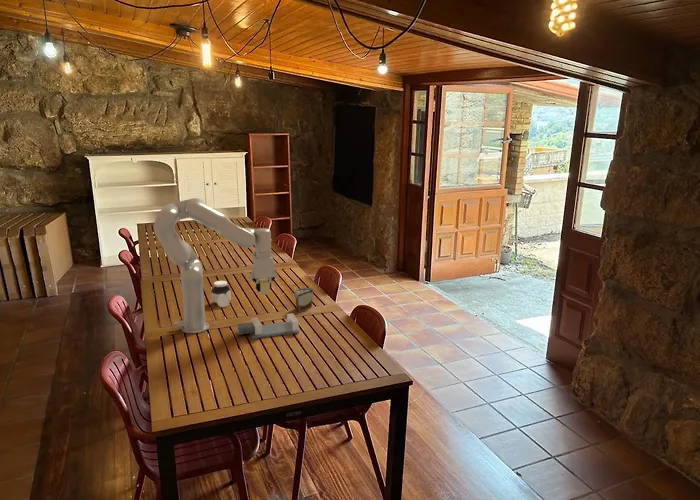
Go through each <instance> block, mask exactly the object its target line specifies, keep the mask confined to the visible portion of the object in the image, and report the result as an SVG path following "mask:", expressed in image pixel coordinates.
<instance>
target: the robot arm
mask: <svg viewBox="0 0 700 500" xmlns="http://www.w3.org/2000/svg"><path fill="white" fill-rule="evenodd" d="M188 218H190V219H191V220H193V221H195V222H198V223H199V224H201V225H203V226H205V227H207V228H209V229H211V230H213V231H215V232H216V233H217V234H219V235H220V236H223V237H224V238H226V239H227V240H229V241H230V242H233V243H234V244H236V245H239V246H240V247H242V248H247V249H248V248H251V247H253V246H254V251H253V252H251V256H254V257H253V260H252V271H251V272H250V274H249V275H248V279H250V280H251V281H252V282H253V283H255V289H256V290H257V292H258V293H259V292H260V285H259V279H261V278H267V279H268V280H269V282H270V290H271V289H272V283H273V281H275V279H276V278H277V277H279V274H278V273H277V271H276V269H275V259H274V257H273V256H272V233H271V231H272V230H270V228H265V227H263V228H261V227H259V228H253V227H243V228H242V227H240V226H238V225H237V224H235V223H234V222H233V221H231V219H229V218H228V216H226V215H225V214H223V213H222V212H220V211H218V210H216V209H214V208H212V207H210V206H209V205H207V204H205V203H204V201H203V200H201V199H200V198H195V197H194V198H189V199H185V200H180V201H175V202H170V203H167V204H165V205H164V206H163V207H162V208H161V210H160V211H159V213H158V214H157V216H156V218H155V219H154V223H153V231H154V233H155V235H156V238H157V240H158V241H159V243H160V244H161V247H162V248H163V249H164V251H165V253H166V255H167V256H168V258H169V260H170V261H171V263H173V264H174V265H176V266H178V267H179V269H180V270H181V271H180V285H181V296H182V307H183V319H182V320H181V321H174V322H173V323H174V324H173V325H174V327H177V328H180V327H181V331H182V332H183V333H185V334H199V333H203V332H205V331H207V330H208V329H209V328H210V325H209V323H208V322H207V321H206V312H205V294H204V276H203V274H204V273H203V271H204V270H203V265H202V263H201V261H200V259H199V258H198V255H196V254H195V251H194V250H193V248H192V247H191V245H190V244H189V243H188V242H186V241H185V240H182V238H181V237H180V235H179V233H178V232H177V231H176V227H175V226H176V224H177V223H178V221H182V220H184V219H188Z"/></svg>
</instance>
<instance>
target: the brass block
mask: <svg viewBox="0 0 700 500" xmlns="http://www.w3.org/2000/svg"><path fill="white" fill-rule="evenodd" d="M259 285H260V292H258V293H259V295H271V289H270V282H269V280H268V278H261V279H259Z"/></svg>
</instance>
